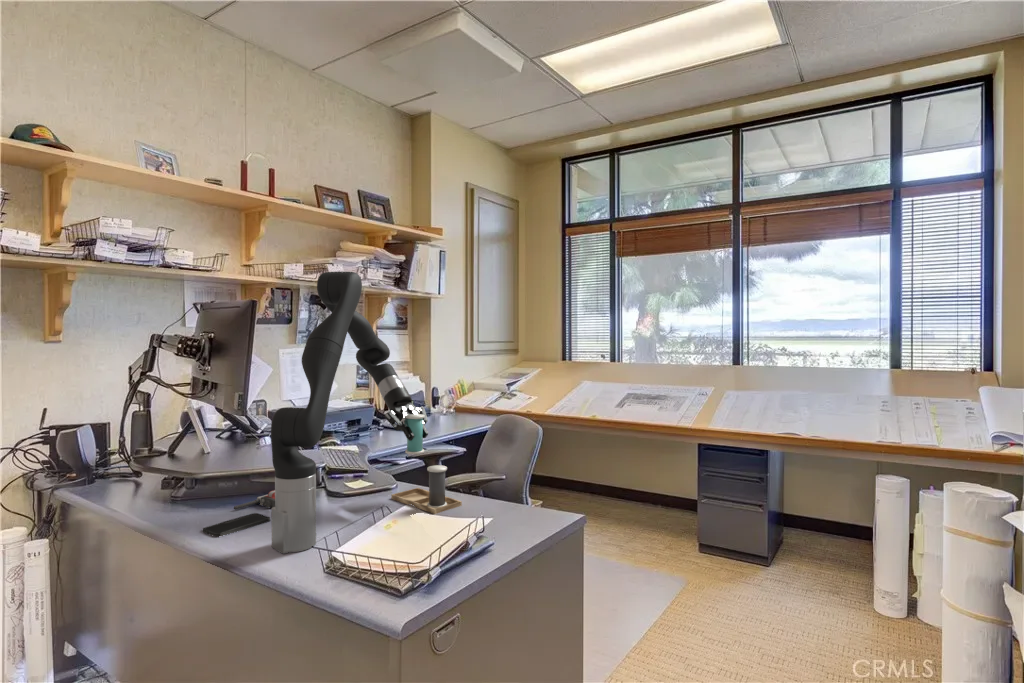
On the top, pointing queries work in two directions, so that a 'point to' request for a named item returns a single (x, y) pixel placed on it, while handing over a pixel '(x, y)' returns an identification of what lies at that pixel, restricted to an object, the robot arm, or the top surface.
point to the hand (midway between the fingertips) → (419, 437)
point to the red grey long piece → (261, 501)
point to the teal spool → (415, 434)
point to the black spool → (436, 486)
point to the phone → (236, 524)
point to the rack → (424, 500)
